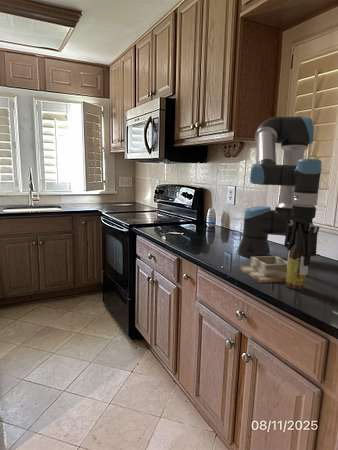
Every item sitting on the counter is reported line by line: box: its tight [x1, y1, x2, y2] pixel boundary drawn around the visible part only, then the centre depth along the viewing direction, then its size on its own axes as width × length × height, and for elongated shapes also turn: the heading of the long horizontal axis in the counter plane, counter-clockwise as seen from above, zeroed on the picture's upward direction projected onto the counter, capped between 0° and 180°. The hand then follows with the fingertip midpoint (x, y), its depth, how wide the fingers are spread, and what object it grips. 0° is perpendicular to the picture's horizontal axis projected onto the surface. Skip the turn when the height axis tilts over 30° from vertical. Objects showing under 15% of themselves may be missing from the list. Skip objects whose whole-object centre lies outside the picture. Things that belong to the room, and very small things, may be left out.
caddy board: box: [239, 255, 287, 284], centre depth 124 cm, size 16×18×6 cm
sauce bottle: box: [285, 232, 307, 290], centre depth 110 cm, size 7×6×20 cm
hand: (296, 271), depth 110 cm, fingers closed on sauce bottle, 6 cm apart
